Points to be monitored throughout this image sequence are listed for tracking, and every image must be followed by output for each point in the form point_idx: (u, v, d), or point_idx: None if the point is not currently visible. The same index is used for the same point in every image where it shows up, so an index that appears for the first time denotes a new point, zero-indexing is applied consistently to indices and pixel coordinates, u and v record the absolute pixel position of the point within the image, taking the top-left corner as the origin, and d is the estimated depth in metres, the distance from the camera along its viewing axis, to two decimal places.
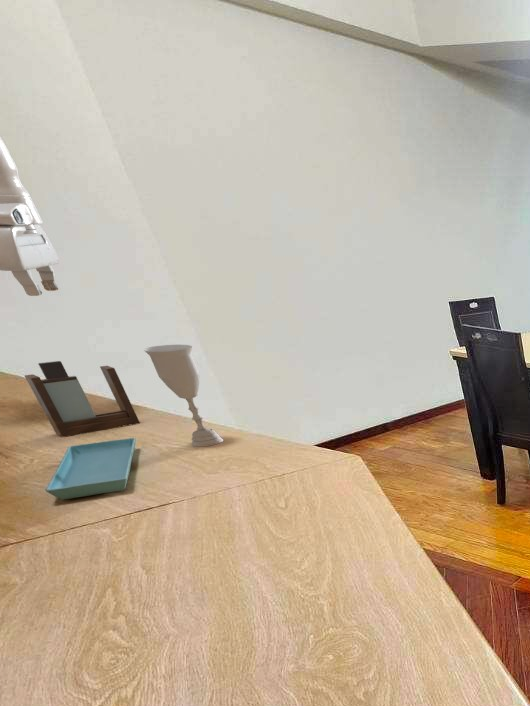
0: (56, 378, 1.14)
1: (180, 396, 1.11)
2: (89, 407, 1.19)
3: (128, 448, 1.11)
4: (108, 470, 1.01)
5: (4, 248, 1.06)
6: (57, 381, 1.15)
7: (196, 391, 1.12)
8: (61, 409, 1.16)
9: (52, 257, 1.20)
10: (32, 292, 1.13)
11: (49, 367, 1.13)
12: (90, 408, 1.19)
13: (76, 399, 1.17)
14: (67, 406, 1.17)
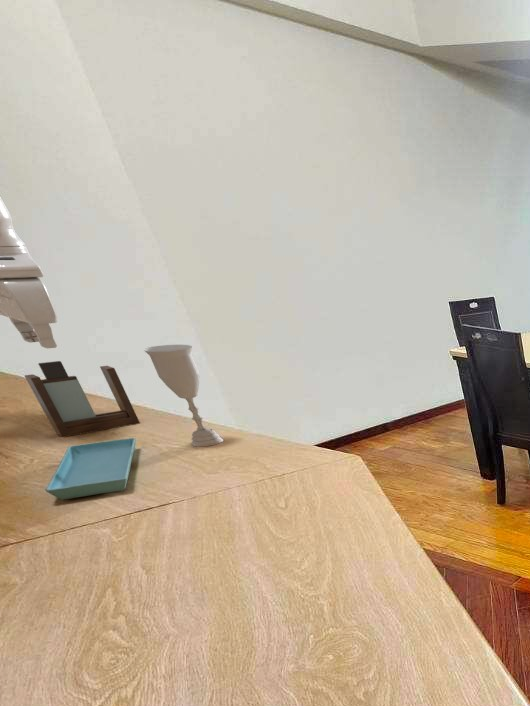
0: (56, 378, 1.14)
1: (180, 396, 1.11)
2: (89, 407, 1.19)
3: (128, 448, 1.11)
4: (108, 470, 1.01)
5: (39, 301, 1.04)
6: (57, 381, 1.15)
7: (196, 391, 1.12)
8: (61, 409, 1.16)
9: None
10: (49, 344, 1.09)
11: (49, 367, 1.13)
12: (90, 408, 1.19)
13: (76, 399, 1.17)
14: (67, 406, 1.17)
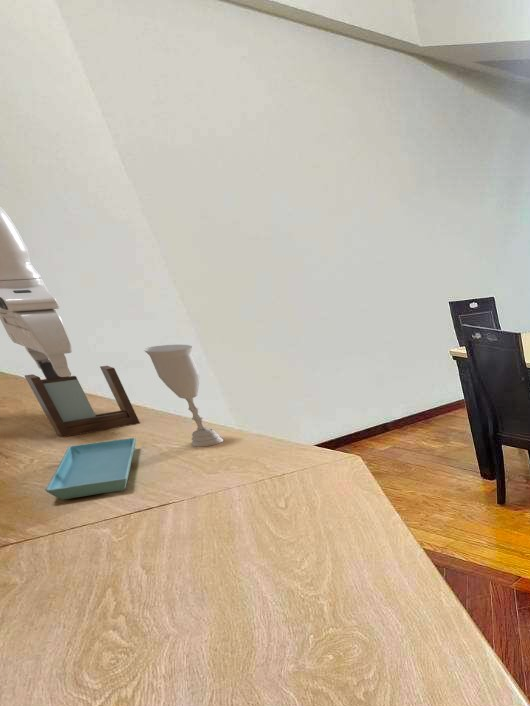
0: (56, 378, 1.14)
1: (180, 396, 1.11)
2: (89, 407, 1.19)
3: (128, 448, 1.11)
4: (108, 470, 1.01)
5: (55, 333, 1.07)
6: (57, 381, 1.15)
7: (196, 391, 1.12)
8: (61, 409, 1.16)
9: None
10: (64, 373, 1.12)
11: (49, 367, 1.13)
12: (90, 408, 1.19)
13: (76, 399, 1.17)
14: (67, 406, 1.17)
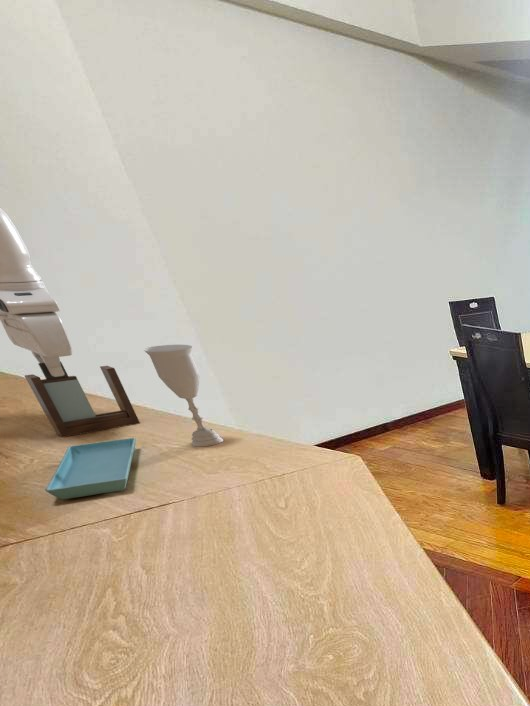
0: (56, 378, 1.14)
1: (180, 396, 1.11)
2: (89, 407, 1.19)
3: (128, 448, 1.11)
4: (108, 470, 1.01)
5: (55, 335, 1.07)
6: (57, 381, 1.15)
7: (196, 391, 1.12)
8: (61, 409, 1.16)
9: None
10: (57, 373, 1.13)
11: None
12: (90, 408, 1.19)
13: (76, 399, 1.17)
14: (67, 406, 1.17)
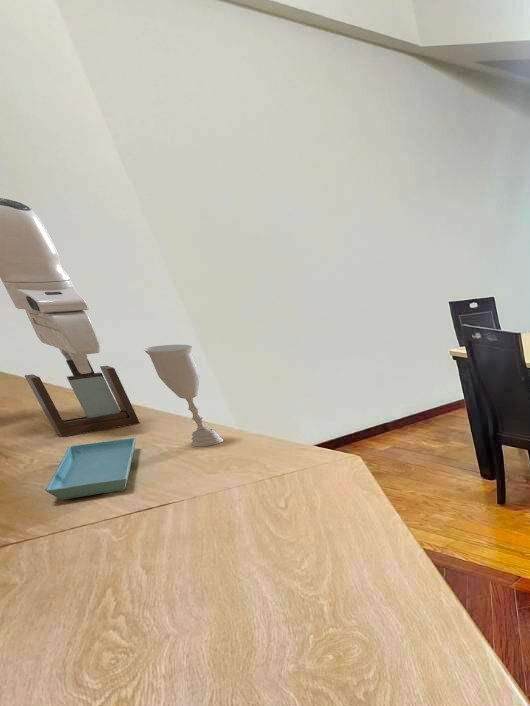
0: (83, 375, 1.17)
1: (180, 396, 1.11)
2: (114, 403, 1.22)
3: (128, 448, 1.11)
4: (108, 470, 1.01)
5: (84, 333, 1.10)
6: (84, 378, 1.17)
7: (196, 391, 1.12)
8: (87, 405, 1.19)
9: None
10: (85, 370, 1.16)
11: None
12: (115, 404, 1.22)
13: (101, 396, 1.20)
14: (93, 402, 1.20)
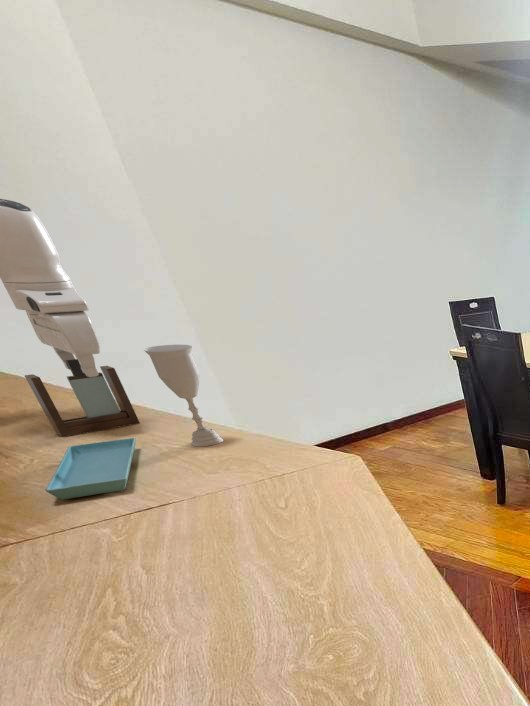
0: (83, 375, 1.17)
1: (180, 396, 1.11)
2: (114, 403, 1.22)
3: (128, 448, 1.11)
4: (108, 470, 1.01)
5: (84, 334, 1.10)
6: (84, 378, 1.17)
7: (196, 391, 1.12)
8: (87, 405, 1.19)
9: None
10: (92, 373, 1.15)
11: (77, 363, 1.16)
12: (115, 404, 1.22)
13: (101, 396, 1.20)
14: (93, 402, 1.20)
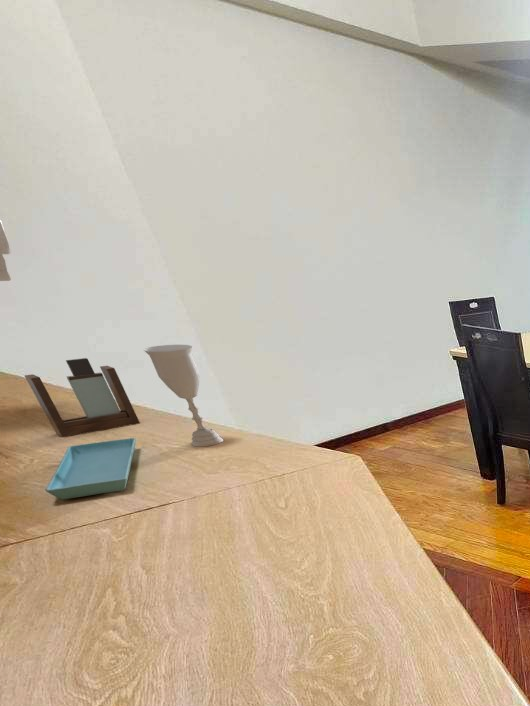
0: (83, 375, 1.17)
1: (180, 396, 1.11)
2: (114, 403, 1.22)
3: (128, 448, 1.11)
4: (108, 470, 1.01)
5: None
6: (84, 378, 1.17)
7: (196, 391, 1.12)
8: (87, 405, 1.19)
9: None
10: (3, 277, 1.08)
11: (77, 363, 1.16)
12: (115, 404, 1.22)
13: (101, 396, 1.20)
14: (93, 402, 1.20)
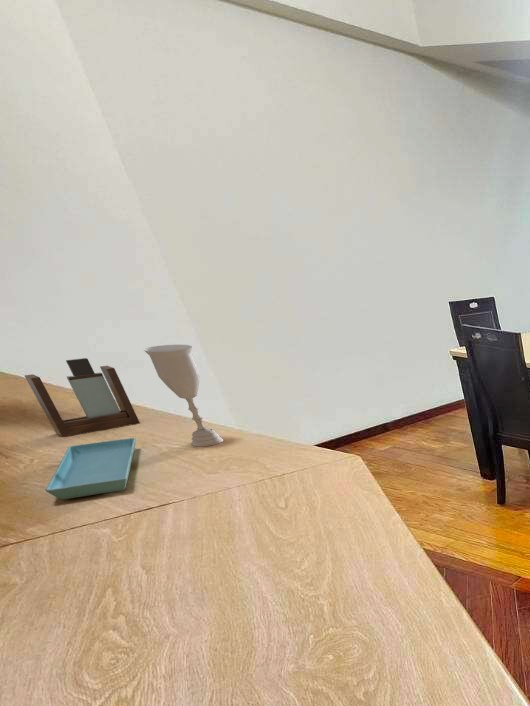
0: (83, 375, 1.17)
1: (180, 396, 1.11)
2: (114, 403, 1.22)
3: (128, 448, 1.11)
4: (108, 470, 1.01)
5: None
6: (84, 378, 1.17)
7: (196, 391, 1.12)
8: (87, 405, 1.19)
9: None
10: None
11: (77, 363, 1.16)
12: (115, 404, 1.22)
13: (101, 396, 1.20)
14: (93, 402, 1.20)
